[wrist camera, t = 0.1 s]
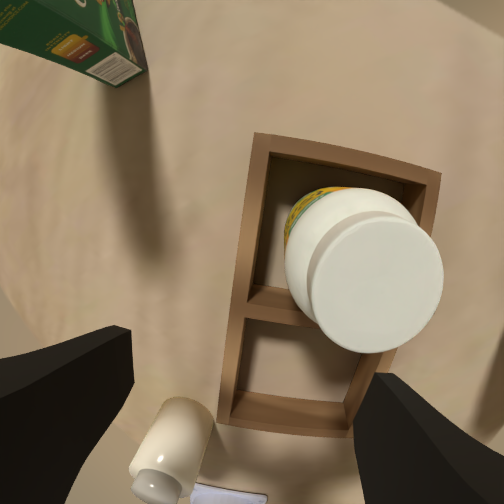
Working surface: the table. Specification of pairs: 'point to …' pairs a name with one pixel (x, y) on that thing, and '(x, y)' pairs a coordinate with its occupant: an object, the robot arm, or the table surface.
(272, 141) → the caddy
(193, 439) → the shaker
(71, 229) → the table surface
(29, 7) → the coffee box
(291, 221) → the supplement bottle
